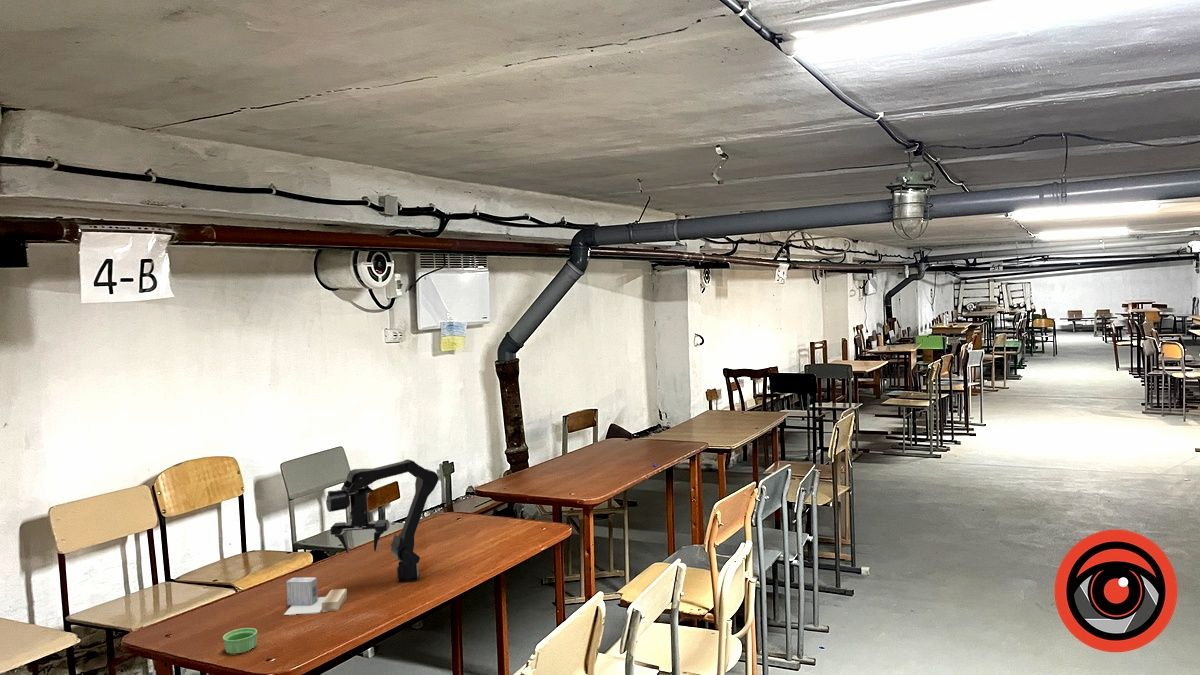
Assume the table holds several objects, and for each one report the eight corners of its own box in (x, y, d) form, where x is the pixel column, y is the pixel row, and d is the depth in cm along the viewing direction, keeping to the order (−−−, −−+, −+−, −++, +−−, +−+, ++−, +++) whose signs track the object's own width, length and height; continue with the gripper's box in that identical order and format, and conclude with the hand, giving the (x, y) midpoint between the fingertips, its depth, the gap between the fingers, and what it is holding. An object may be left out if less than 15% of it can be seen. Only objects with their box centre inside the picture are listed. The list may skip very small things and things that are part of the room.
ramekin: (216, 653, 226) (215, 638, 226) (241, 641, 235) (240, 626, 235) (241, 657, 223) (240, 641, 223) (265, 644, 232) (264, 629, 232)
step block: (347, 597, 268) (346, 588, 267) (338, 610, 256) (337, 601, 255) (331, 598, 267) (331, 589, 267) (322, 612, 255) (321, 602, 255)
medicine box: (317, 577, 264) (292, 577, 266) (310, 581, 260) (285, 581, 261) (318, 600, 265) (293, 600, 266) (311, 605, 260) (286, 605, 261)
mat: (331, 597, 268) (330, 596, 268) (319, 613, 254) (319, 612, 254) (297, 600, 267) (297, 598, 267) (283, 615, 253) (283, 614, 253)
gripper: (391, 499, 283) (393, 543, 283) (337, 502, 281) (339, 547, 282) (385, 507, 271) (387, 552, 272) (328, 510, 270) (331, 556, 271)
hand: (361, 551), depth 274 cm, fingers open, 9 cm apart
